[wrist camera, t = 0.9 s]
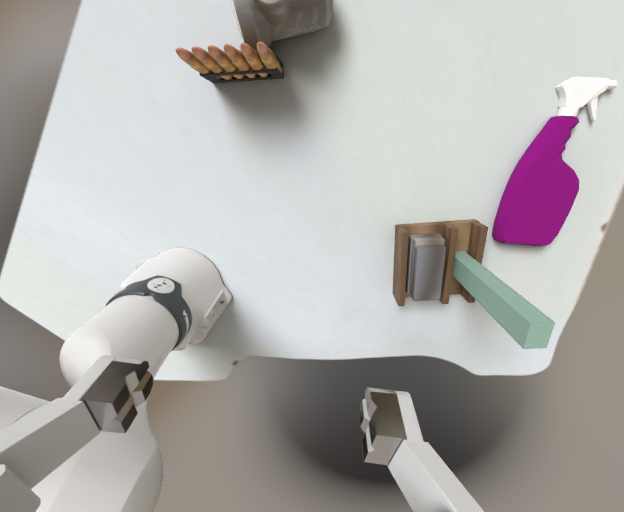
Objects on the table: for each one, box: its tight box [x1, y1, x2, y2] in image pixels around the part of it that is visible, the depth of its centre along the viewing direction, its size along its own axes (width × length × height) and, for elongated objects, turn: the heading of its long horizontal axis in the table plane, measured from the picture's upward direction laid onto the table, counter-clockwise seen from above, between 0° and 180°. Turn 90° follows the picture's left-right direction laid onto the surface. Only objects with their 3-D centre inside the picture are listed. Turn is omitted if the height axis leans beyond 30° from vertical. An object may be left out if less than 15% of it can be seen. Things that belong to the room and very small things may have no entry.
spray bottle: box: [492, 77, 618, 246], centre depth 42 cm, size 3×11×25 cm
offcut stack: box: [405, 233, 446, 301], centre depth 46 cm, size 5×11×4 cm, turn 5°
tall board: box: [452, 251, 555, 349], centre depth 39 cm, size 2×4×20 cm
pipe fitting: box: [232, 0, 333, 54], centre depth 32 cm, size 12×8×10 cm
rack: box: [393, 219, 488, 306], centre depth 47 cm, size 14×14×4 cm
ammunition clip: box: [176, 42, 284, 83], centre depth 33 cm, size 11×2×12 cm, turn 93°
